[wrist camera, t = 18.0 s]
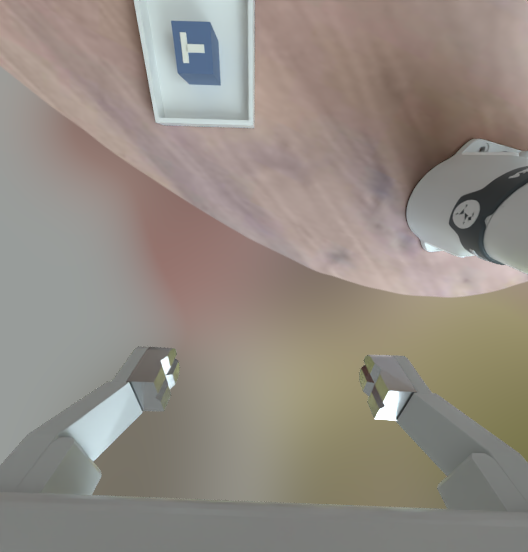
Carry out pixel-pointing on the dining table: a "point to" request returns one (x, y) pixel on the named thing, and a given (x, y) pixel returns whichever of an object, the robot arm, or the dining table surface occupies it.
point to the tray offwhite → (232, 55)
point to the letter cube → (196, 52)
